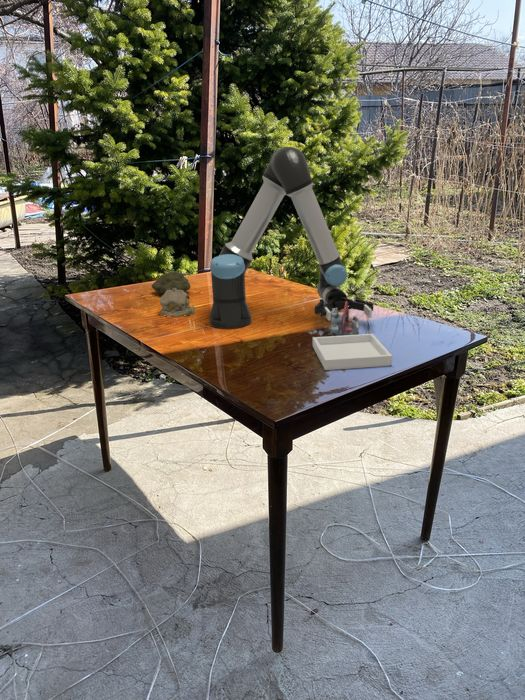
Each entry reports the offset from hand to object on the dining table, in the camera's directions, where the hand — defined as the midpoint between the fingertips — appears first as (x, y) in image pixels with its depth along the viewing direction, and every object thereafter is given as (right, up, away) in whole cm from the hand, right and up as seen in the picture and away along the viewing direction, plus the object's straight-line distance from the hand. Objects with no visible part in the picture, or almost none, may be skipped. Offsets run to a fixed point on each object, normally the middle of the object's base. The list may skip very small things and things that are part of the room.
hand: (350, 315), depth 172 cm
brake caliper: (-2, -6, +3) cm, 7 cm away
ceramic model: (-62, +3, +32) cm, 69 cm away
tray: (-3, -13, -16) cm, 20 cm away
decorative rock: (-68, +13, +59) cm, 91 cm away
